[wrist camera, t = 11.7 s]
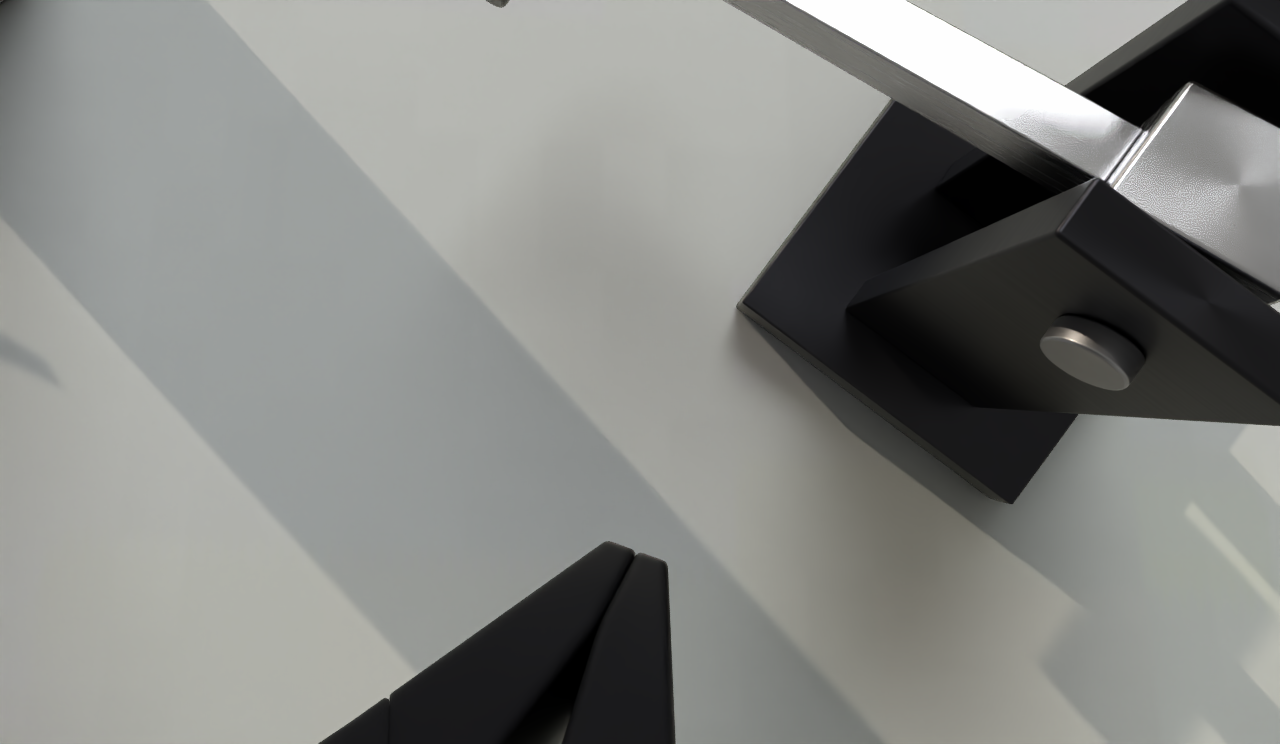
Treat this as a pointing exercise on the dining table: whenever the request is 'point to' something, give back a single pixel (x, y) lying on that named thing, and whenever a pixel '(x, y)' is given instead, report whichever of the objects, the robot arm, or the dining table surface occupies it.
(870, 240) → the bracket
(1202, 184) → the lever
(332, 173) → the dining table surface
